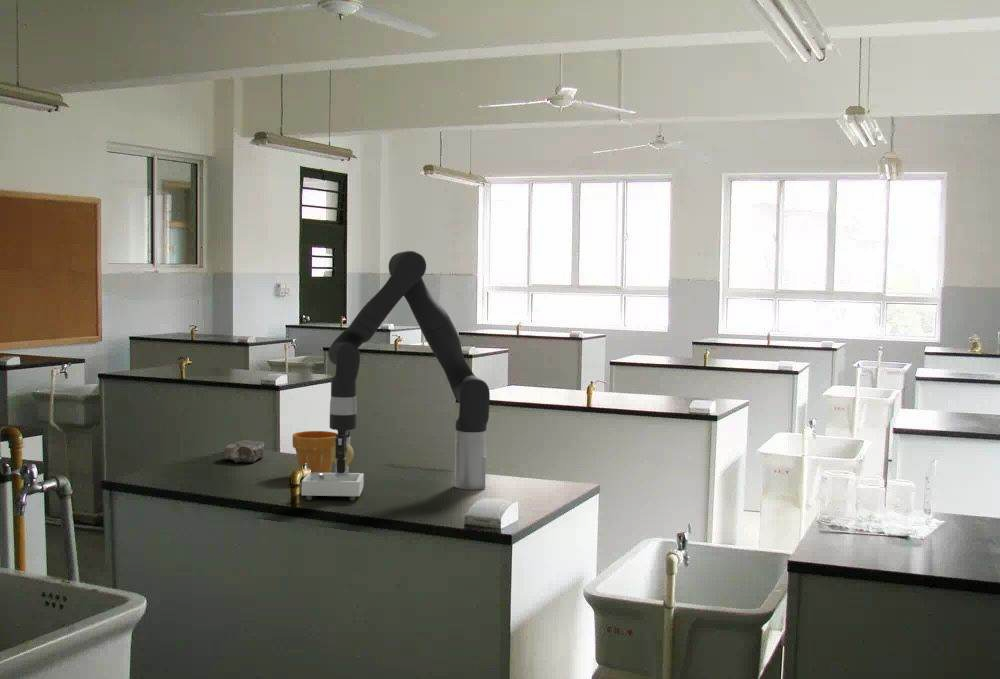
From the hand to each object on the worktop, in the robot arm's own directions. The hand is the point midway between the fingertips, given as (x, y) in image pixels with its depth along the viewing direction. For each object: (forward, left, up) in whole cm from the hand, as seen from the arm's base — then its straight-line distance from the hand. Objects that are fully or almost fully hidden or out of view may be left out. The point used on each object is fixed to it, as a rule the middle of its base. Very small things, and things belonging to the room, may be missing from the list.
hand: (342, 470), depth 284 cm
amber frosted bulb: (0, 0, -2) cm, 2 cm away
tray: (+2, 0, -8) cm, 8 cm away
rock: (+38, -52, -8) cm, 65 cm away
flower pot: (+11, -28, -8) cm, 31 cm away
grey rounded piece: (+7, 0, -5) cm, 9 cm away
